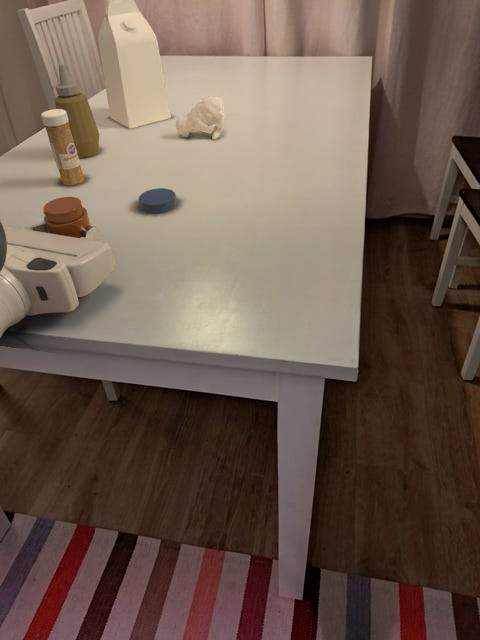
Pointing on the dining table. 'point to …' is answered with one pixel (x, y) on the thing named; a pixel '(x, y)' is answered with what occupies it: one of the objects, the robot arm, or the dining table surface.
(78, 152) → the squeeze bottle
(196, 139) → the dining table surface
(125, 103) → the milk
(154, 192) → the lid
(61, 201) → the jar
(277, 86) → the dining table surface
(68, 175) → the sprinkles bottle
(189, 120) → the white lumpy piece
